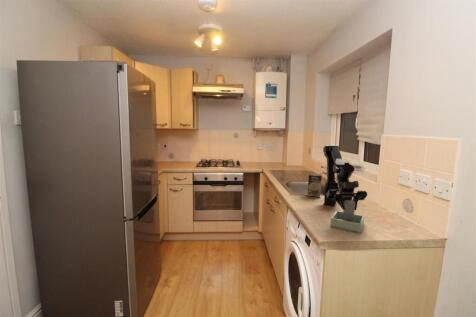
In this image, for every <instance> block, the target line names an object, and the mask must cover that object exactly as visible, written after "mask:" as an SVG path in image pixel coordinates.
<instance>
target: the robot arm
mask: <svg viewBox="0 0 476 317" xmlns="http://www.w3.org/2000/svg"><path fill="white" fill-rule="evenodd" d="M322 148H323V149H322V152H323V155H324V157H325V158H326V171H327V172H326V174H327V175H326V178H327V180H326V182H325V184H324V187H323V190H322V196H323V197H324V199H323V201H324V202H323V203H322V205H324V206H329V207H335V206H336V205H337V204H338V205H339V206H340V208H341V209H342V210H343V211H344V202H343V200H342V196H349V197H352V201H354V202H355V211H357V208H358V203H359V201H365V199H366V198H367V196H368V192H367V191H366V190H357V191H356V192H355V189H356V188H359V185H360V184H359V183H360V182H359V180H353V181H350V179H349V178H351V177H352V175H353V173H354V172H355V167H354V165H352V164H350V162H347V161H345V160H344V159H343V158H342V154H341V152H340V146H339V145H338V144H326V145H324V146H323V147H322ZM336 174H337V175H336ZM352 191H354V193H352Z"/></svg>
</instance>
